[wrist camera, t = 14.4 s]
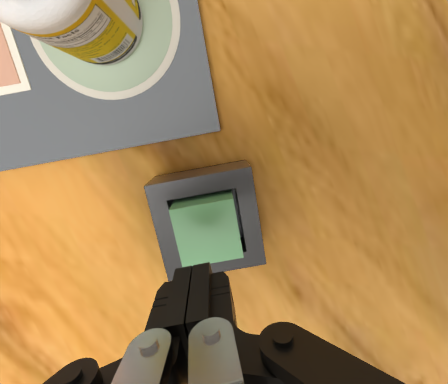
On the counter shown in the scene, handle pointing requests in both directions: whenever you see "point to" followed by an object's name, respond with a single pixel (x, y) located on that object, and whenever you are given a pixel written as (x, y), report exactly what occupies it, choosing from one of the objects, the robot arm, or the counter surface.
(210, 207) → the button
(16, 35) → the picture board
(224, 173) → the button housing
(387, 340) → the counter surface
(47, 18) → the supplement bottle
